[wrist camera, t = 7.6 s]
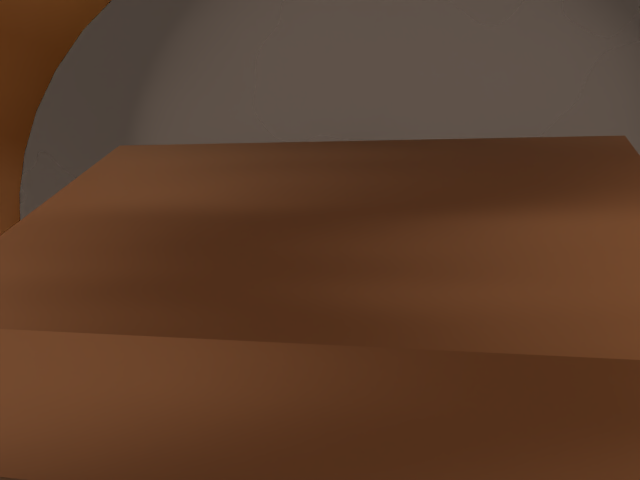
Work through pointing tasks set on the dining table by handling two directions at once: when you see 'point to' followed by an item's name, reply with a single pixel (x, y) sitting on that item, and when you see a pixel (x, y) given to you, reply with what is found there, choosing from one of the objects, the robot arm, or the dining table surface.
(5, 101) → the dining table surface
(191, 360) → the drawer-style box
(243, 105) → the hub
